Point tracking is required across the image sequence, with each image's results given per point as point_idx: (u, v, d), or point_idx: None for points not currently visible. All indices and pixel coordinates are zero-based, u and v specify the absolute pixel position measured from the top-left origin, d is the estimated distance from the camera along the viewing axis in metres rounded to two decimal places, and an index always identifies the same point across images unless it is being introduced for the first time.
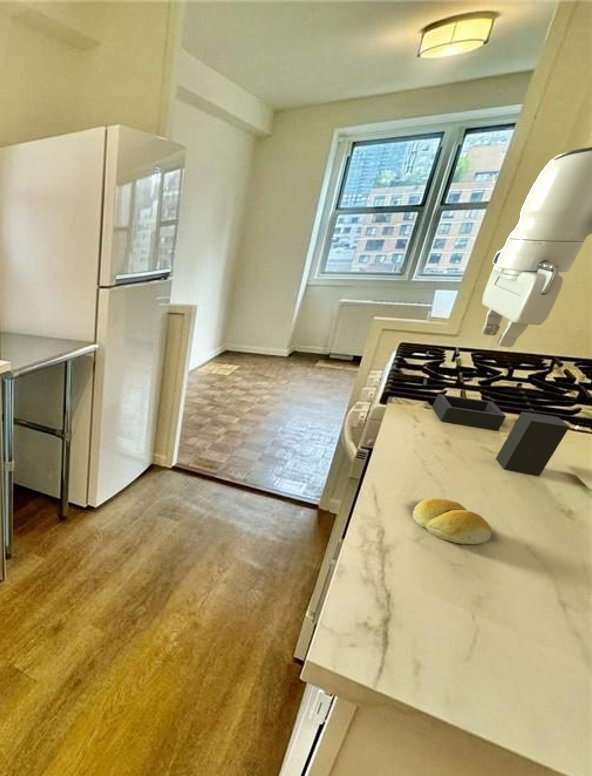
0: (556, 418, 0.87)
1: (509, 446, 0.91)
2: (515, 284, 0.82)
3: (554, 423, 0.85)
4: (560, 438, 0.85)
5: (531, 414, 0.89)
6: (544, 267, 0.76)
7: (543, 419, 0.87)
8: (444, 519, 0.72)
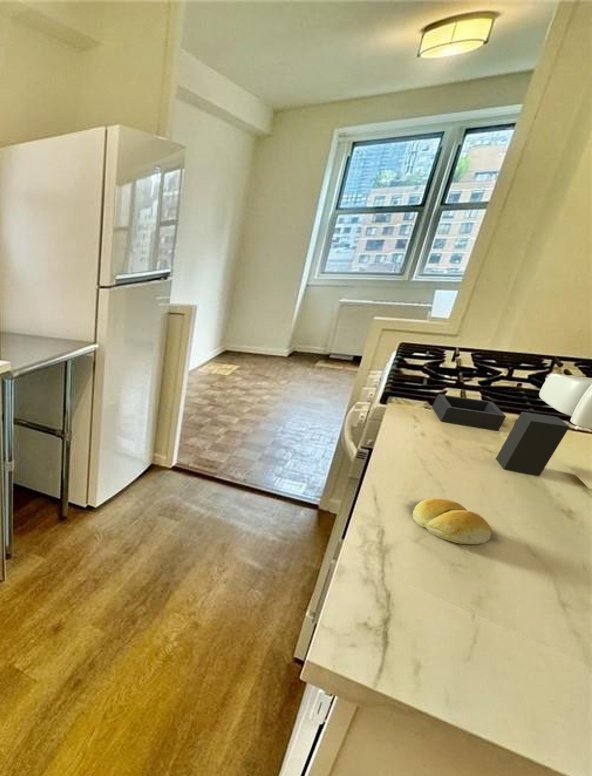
0: (556, 418, 0.87)
1: (509, 446, 0.91)
2: None
3: (554, 423, 0.85)
4: (560, 438, 0.85)
5: (531, 414, 0.89)
6: None
7: (543, 419, 0.87)
8: (444, 519, 0.72)
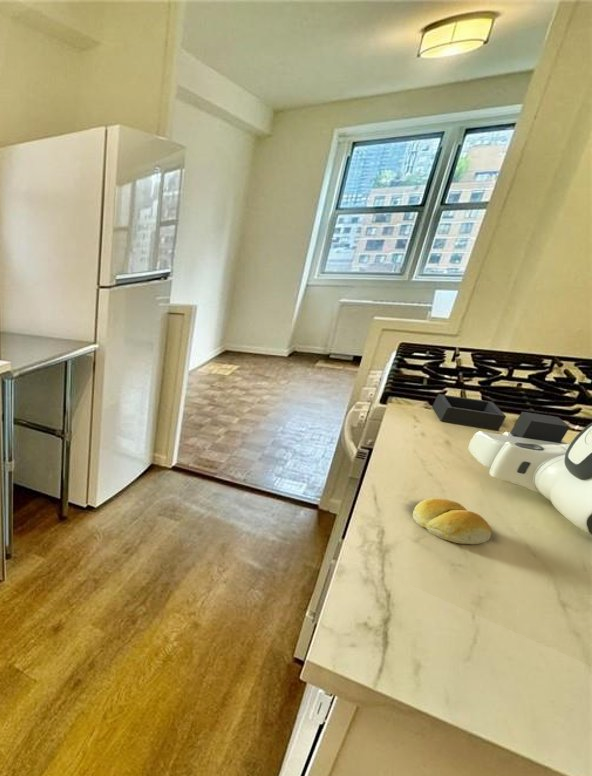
0: (556, 418, 0.87)
1: None
2: None
3: (554, 423, 0.85)
4: (560, 438, 0.85)
5: (531, 414, 0.89)
6: None
7: (543, 419, 0.87)
8: (444, 519, 0.72)
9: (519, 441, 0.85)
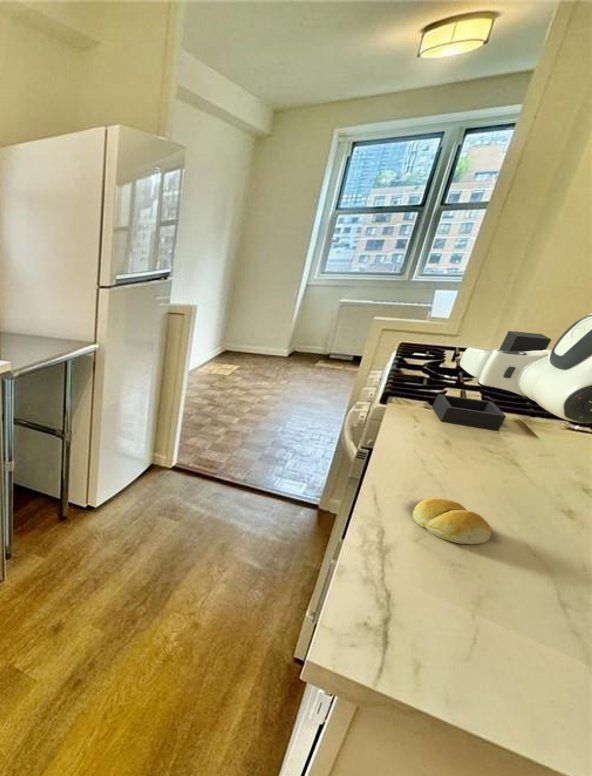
0: (539, 334, 0.96)
1: None
2: None
3: (537, 337, 0.94)
4: None
5: (517, 332, 0.97)
6: None
7: (528, 335, 0.95)
8: (444, 519, 0.72)
9: None
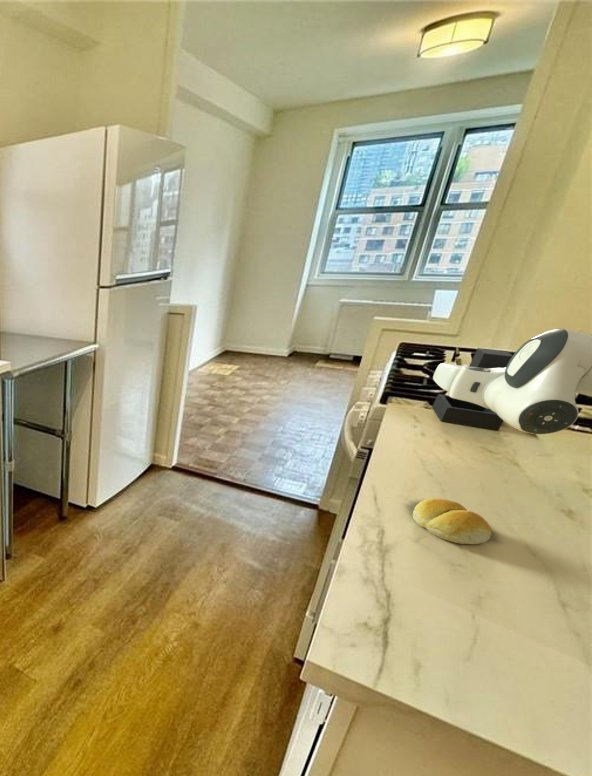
0: (505, 352, 1.05)
1: None
2: None
3: (503, 354, 1.03)
4: None
5: (485, 349, 1.07)
6: None
7: (494, 352, 1.05)
8: (444, 519, 0.72)
9: None
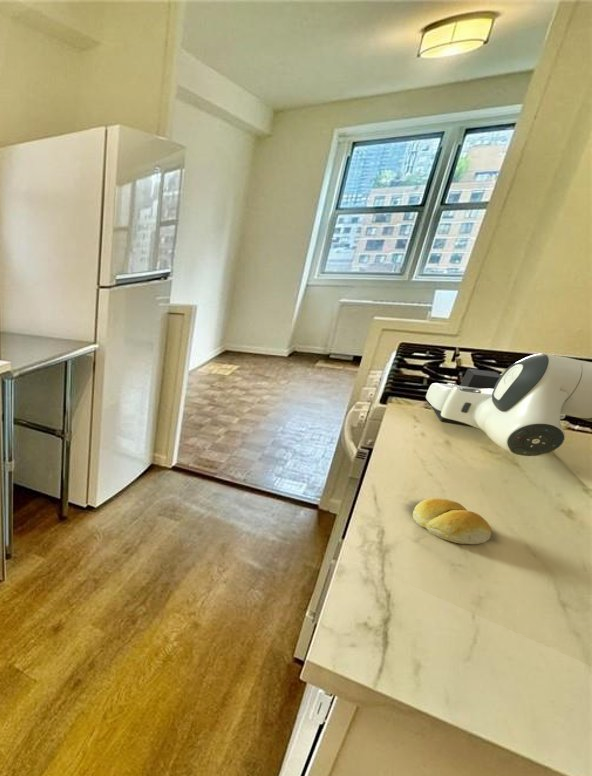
0: (494, 372, 1.07)
1: None
2: None
3: (492, 376, 1.05)
4: None
5: (475, 370, 1.09)
6: None
7: (484, 373, 1.07)
8: (444, 519, 0.72)
9: (465, 389, 1.05)
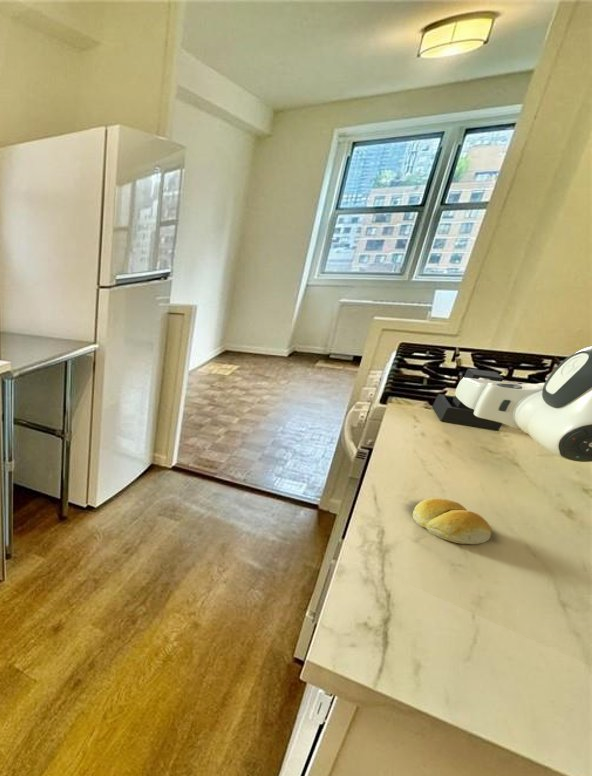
0: (494, 372, 1.07)
1: None
2: None
3: (492, 376, 1.05)
4: None
5: (475, 370, 1.09)
6: None
7: (484, 373, 1.07)
8: (444, 519, 0.72)
9: None
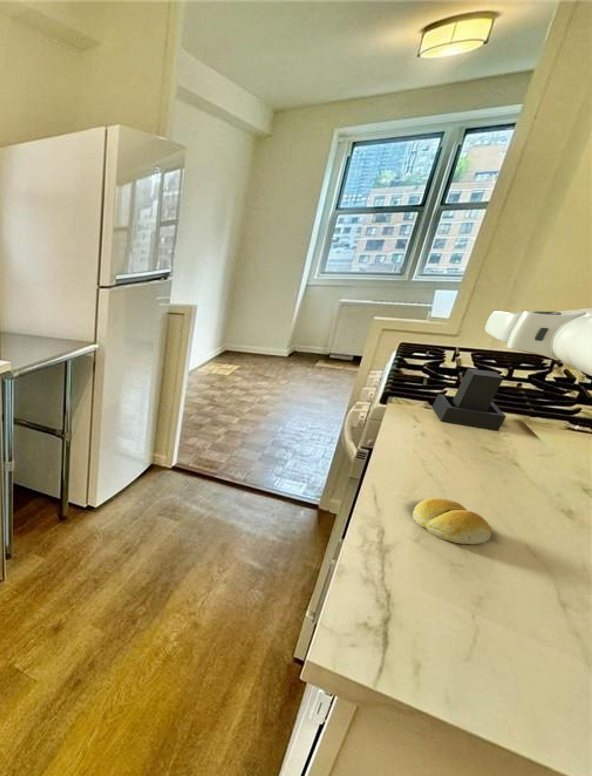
0: (494, 372, 1.07)
1: (458, 397, 1.11)
2: None
3: (492, 376, 1.05)
4: (496, 388, 1.05)
5: (475, 370, 1.09)
6: None
7: (484, 373, 1.07)
8: (444, 519, 0.72)
9: None
